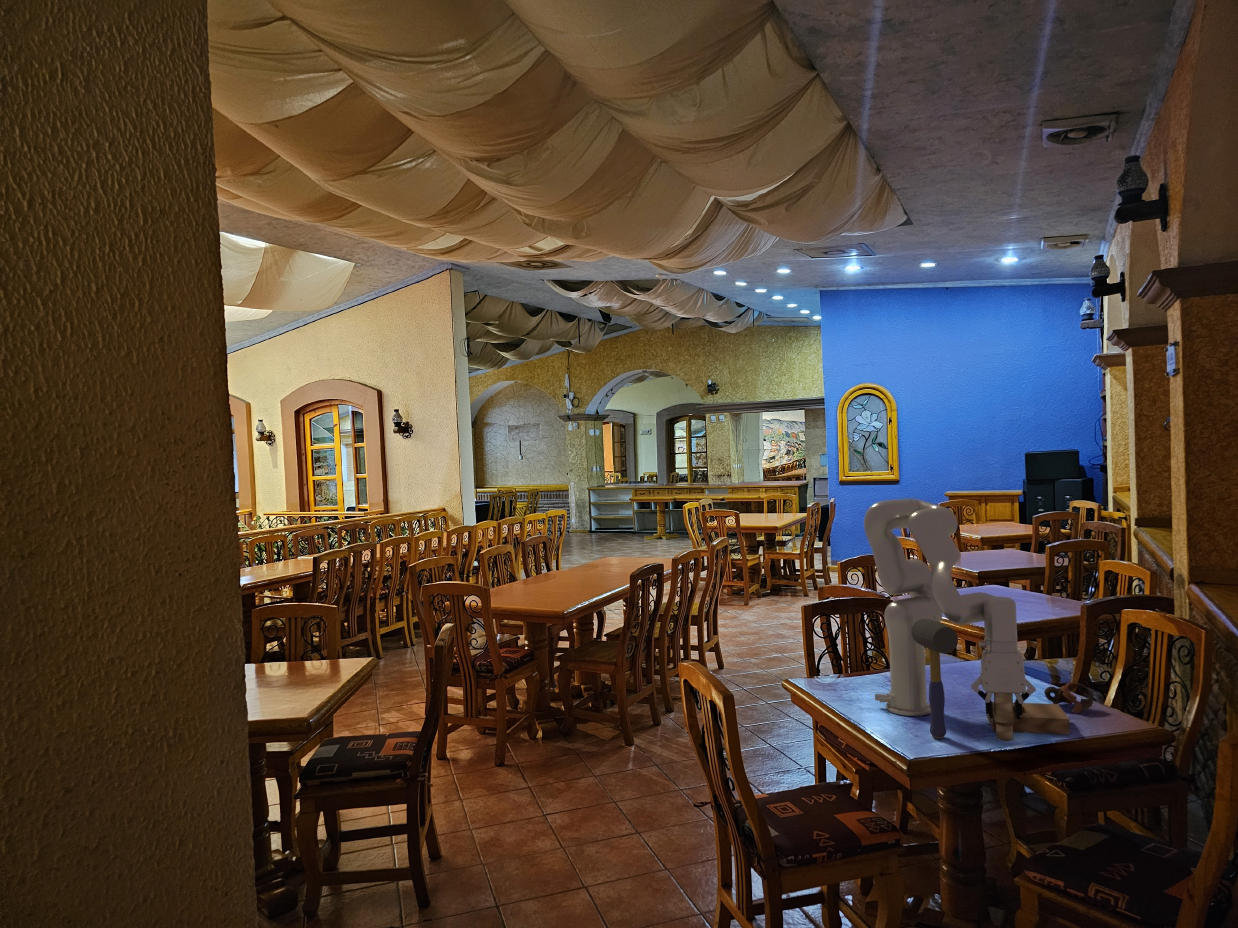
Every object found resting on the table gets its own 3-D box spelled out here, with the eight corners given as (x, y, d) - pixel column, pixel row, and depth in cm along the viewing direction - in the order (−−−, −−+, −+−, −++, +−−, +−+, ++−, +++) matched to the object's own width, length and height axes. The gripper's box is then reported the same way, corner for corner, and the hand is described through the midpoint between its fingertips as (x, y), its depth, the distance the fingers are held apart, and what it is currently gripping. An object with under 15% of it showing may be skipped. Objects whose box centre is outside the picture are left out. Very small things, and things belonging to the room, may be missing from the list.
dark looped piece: (1081, 704, 238) (1092, 683, 234) (1088, 728, 230) (1100, 707, 226) (1037, 693, 241) (1047, 672, 236) (1042, 716, 232) (1053, 695, 228)
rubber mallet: (912, 731, 220) (908, 617, 220) (939, 728, 221) (935, 615, 221) (936, 746, 208) (932, 626, 208) (965, 744, 209) (960, 624, 209)
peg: (996, 740, 211) (994, 685, 210) (993, 734, 215) (991, 680, 215) (1016, 741, 209) (1014, 686, 209) (1013, 735, 214) (1011, 681, 214)
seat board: (993, 730, 218) (992, 715, 218) (986, 715, 230) (985, 701, 230) (1069, 734, 213) (1069, 718, 213) (1058, 718, 225) (1058, 703, 225)
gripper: (966, 648, 211) (969, 720, 211) (1041, 650, 206) (1044, 723, 206) (963, 642, 218) (966, 711, 218) (1035, 643, 213) (1038, 714, 213)
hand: (1004, 716), depth 212 cm, fingers open, 5 cm apart
